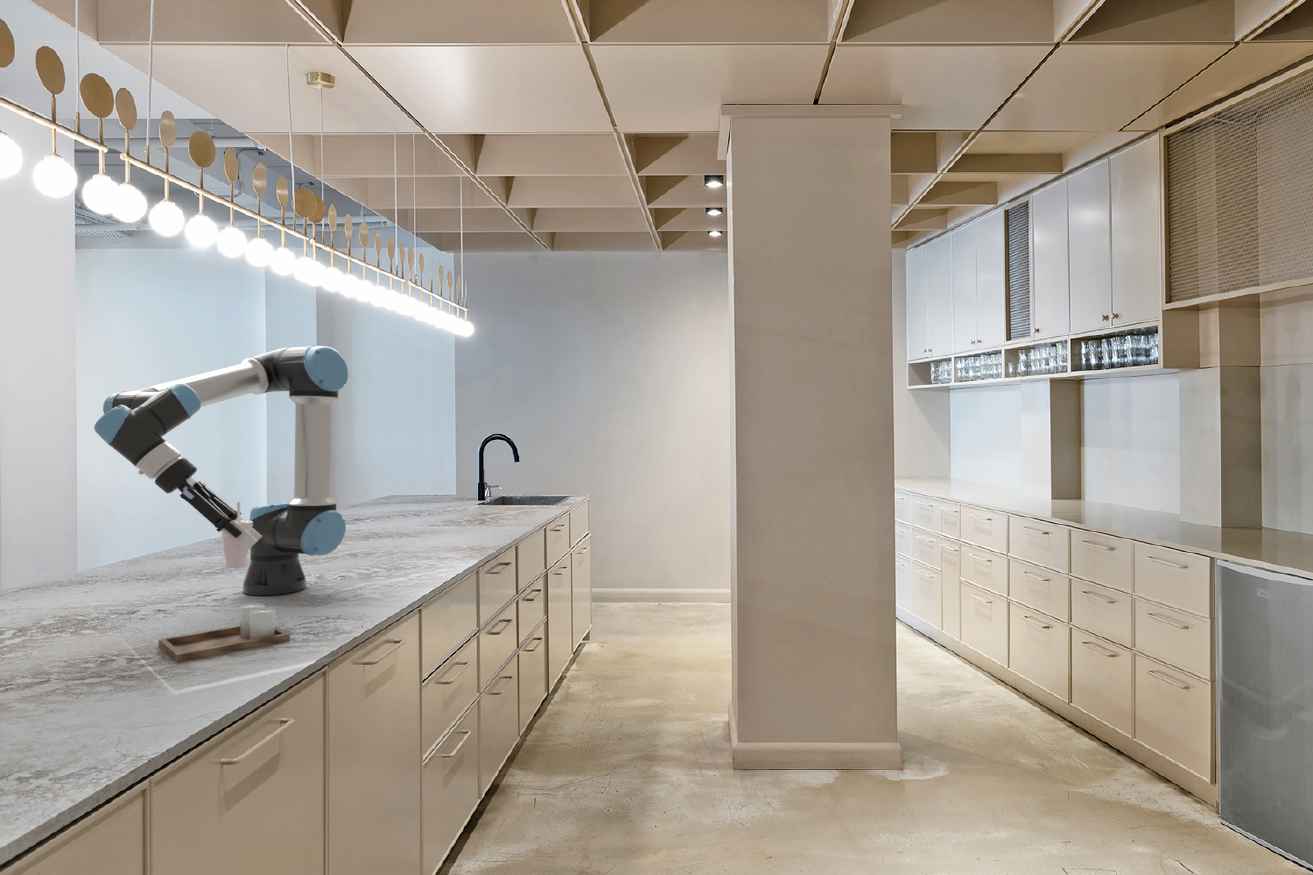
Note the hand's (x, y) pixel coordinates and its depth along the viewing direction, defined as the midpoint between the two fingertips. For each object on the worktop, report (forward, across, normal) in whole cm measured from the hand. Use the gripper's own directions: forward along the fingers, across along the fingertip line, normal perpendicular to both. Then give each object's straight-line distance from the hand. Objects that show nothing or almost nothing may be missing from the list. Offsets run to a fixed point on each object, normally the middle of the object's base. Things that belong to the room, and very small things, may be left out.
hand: (254, 543), depth 165 cm
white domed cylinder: (+15, +12, -11) cm, 22 cm away
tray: (+11, +12, -16) cm, 23 cm away
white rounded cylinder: (+13, +6, -12) cm, 19 cm away
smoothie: (+1, 0, -6) cm, 6 cm away
